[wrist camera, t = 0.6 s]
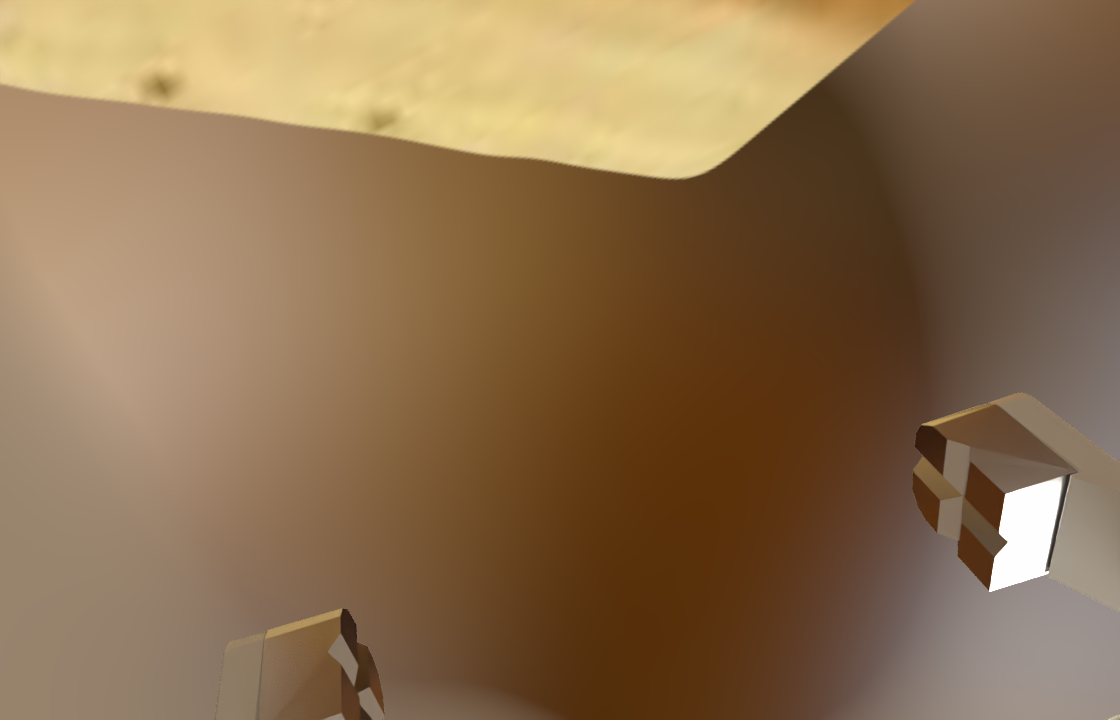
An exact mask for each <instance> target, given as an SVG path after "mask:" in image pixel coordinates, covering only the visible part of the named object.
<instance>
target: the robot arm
mask: <svg viewBox="0 0 1120 720" xmlns="http://www.w3.org/2000/svg"><path fill="white" fill-rule="evenodd" d="M915 448H916V449H917V450H918V451H919V452H920V453H921V454H922V455H923V457H922V458H921V460H920V461H919V463H918V464H917V465H916V467H915V468H914V470H913V475H912V477H913V478H912V490H913V493H914V496H915V499H916V502H917V506H918V508H919V510H920V511H921V513H922V515H923V516H924V518H925V519H926V521H927V522H928V523H929V524H930V526H931V527H932V528H933V529H934V530H935V531H936V533H938V534H940V535H943V536H945V537H948V538H951V539H953V540H956V541H958V557H959V558H960V559H961V560H962V562H963V563H964V564H965V565H966V566H967V567H968V568H969V569H970V570H971V571H972V573H973V574H974V575H975V576H976V577H977V578H978V579H979V580H980V581H981V582H982V584H983V585H984V586H985V587H986V588H987V589H988V590H989V591H993V590H996V589H999V588H1002V587H1006V586H1008V585H1012V584H1015V583H1018V582H1022V581H1025V580H1028V579H1031V578H1035V577H1038V576H1041V575H1044V574H1048V577H1049V578H1051V579H1053V580H1055V581H1057V582H1059V583H1061V584H1063V585H1065V586H1067V587H1069V588H1071V589H1073V590H1075V591H1078V592H1079V593H1081V594H1084V595H1086V596H1088V597H1090V598H1092V599H1094V600H1096V601H1098V602H1100V603H1102V604H1104V605H1106V606H1108V607H1110V608H1112V609H1114V610H1116V611H1118V612H1120V459H1119V460H1115V459H1114V458H1112V457H1111V456H1110V455H1108V454H1107V453H1106V452H1104V451H1103V450H1102V449H1101V448H1099V447H1098V446H1096V445H1095V444H1094V443H1093V442H1091V441H1090V440H1089V439H1087V438H1086V437H1085V436H1083V435H1082V434H1081V433H1080V432H1078V431H1077V430H1076V429H1074V428H1073V427H1072V426H1070V425H1069V424H1068V423H1066V422H1065V421H1064V420H1063V419H1061V418H1060V417H1059V416H1057V415H1056V414H1055V413H1053V412H1052V411H1051V410H1049V409H1048V408H1047V407H1046V406H1044V405H1043V404H1042V403H1040V402H1039V401H1038V400H1036V399H1035V398H1034V397H1032V396H1030V395H1028V394H1025V393H1021V392H1020V393H1017V394H1013V395H1010V396H1007V397H1004V398H1001V399H998V400H995V401H992V402H989V403H987V404H985V405H979V406H976V407H974V408H970V409H967V410H964V411H961V412H958V413H955V414H952V415H949V416H946V417H943V418H940V419H937V420H934V421H931V422H928V423H925V424H922V425H921V426H920V427H919V429H918V430H917V432H916V437H915ZM384 717H385V713H384V702H383V693H382V688H381V683H380V678H379V673H378V671H377V668H376V665H375V662H374V659H373V657H372V655H371V653H370V651H369V648H368V647H367V646H366V645H363V644H361V643H358V642H357V625H356V623H355V622H354V620H353V618H352V616H351V614H350V612H349V611H348V609H344V608H342V609H339V610H336V611H332V612H328V613H325V614H322V615H318V616H315V617H311V618H308V619H304V620H301V621H297V622H294V623H290V624H287V625H284V626H280V627H277V628H274V629H270V630H268V631H265V632H262V633H259V634H255V635H252V636H248V637H245V638H241V639H238V640H234V641H231V642H229V644H228V646H227V648H226V650H225V652H224V654H223V661H222V668H221V676H220V683H219V691H218V698H217V705H216V712H215V720H383V718H384ZM1106 720H1120V714H1119V715H1117V716H1114V717H1111V718H1108V719H1106Z"/></svg>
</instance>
